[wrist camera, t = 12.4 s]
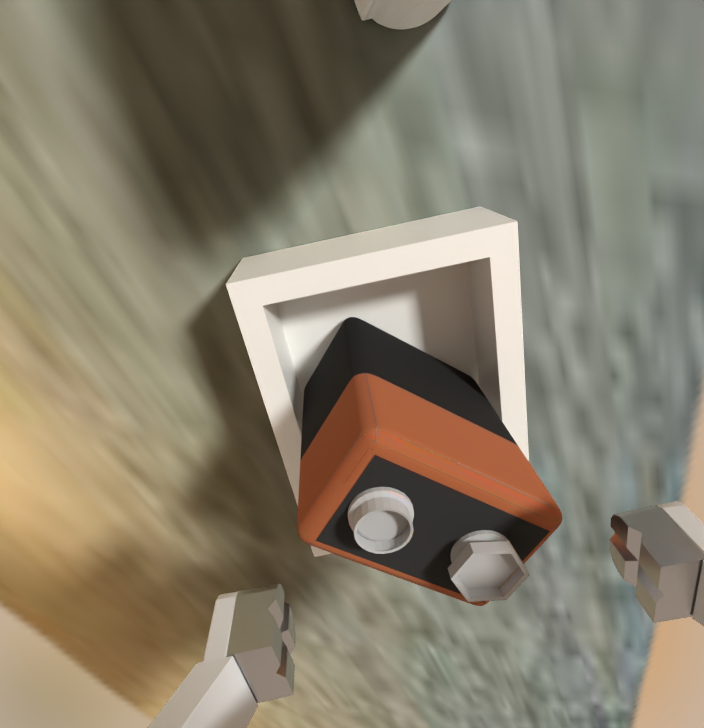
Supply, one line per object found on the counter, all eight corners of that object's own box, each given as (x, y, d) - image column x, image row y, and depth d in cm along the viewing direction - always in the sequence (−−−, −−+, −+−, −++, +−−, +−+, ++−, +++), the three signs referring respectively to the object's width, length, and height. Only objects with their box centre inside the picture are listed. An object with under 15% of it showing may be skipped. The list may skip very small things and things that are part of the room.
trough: (242, 257, 20) (225, 284, 16) (480, 206, 20) (517, 221, 16) (314, 497, 25) (314, 557, 22) (500, 459, 25) (531, 513, 21)
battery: (425, 447, 23) (494, 643, 14) (300, 390, 21) (288, 572, 12) (477, 376, 22) (591, 544, 13) (347, 308, 20) (373, 447, 11)
